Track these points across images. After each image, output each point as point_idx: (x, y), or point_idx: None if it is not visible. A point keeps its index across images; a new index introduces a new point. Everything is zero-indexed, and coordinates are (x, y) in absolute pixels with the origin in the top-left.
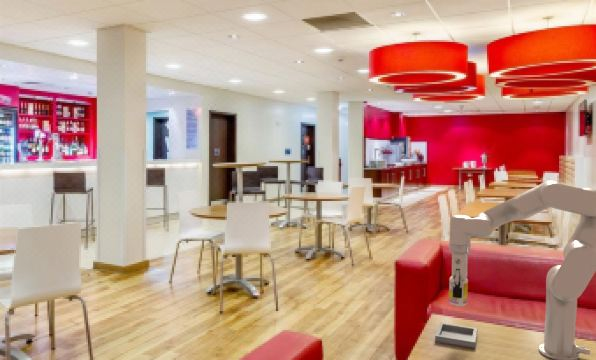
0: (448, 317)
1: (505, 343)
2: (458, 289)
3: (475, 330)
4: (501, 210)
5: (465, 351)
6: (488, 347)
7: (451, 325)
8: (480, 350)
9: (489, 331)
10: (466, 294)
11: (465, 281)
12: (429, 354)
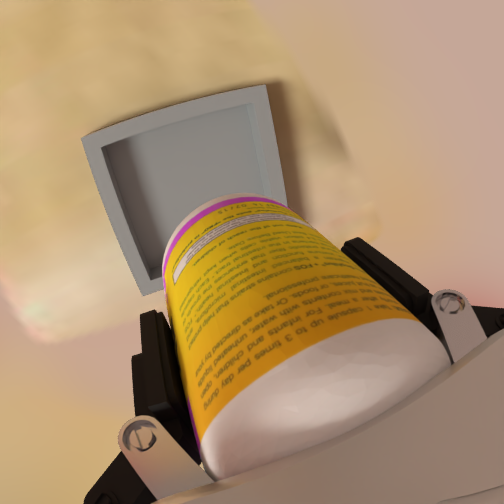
0: (17, 308)
1: (112, 3)
2: (428, 300)
3: (116, 131)
4: None
5: (298, 111)
6: (203, 43)
7: (136, 247)
8: (254, 63)
9: (19, 111)
10: (294, 229)
11: (425, 341)
12: (375, 205)
